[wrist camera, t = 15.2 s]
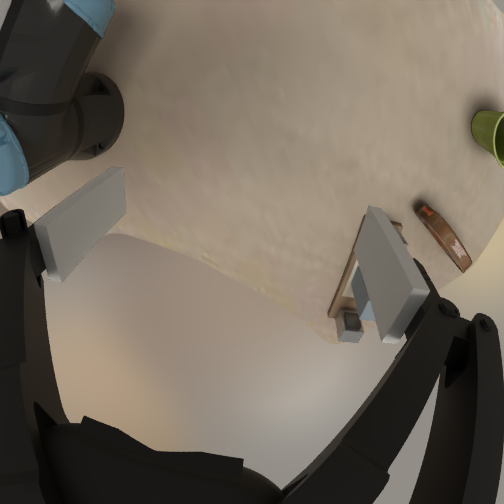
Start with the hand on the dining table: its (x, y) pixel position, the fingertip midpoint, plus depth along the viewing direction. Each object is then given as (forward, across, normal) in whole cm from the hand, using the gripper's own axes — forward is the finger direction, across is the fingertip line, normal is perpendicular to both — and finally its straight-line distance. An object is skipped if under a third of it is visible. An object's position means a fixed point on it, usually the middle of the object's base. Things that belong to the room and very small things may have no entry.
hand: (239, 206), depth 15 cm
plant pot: (+29, +35, +10) cm, 46 cm away
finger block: (+27, +21, -22) cm, 41 cm away
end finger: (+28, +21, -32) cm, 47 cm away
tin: (+29, +32, -10) cm, 44 cm away
